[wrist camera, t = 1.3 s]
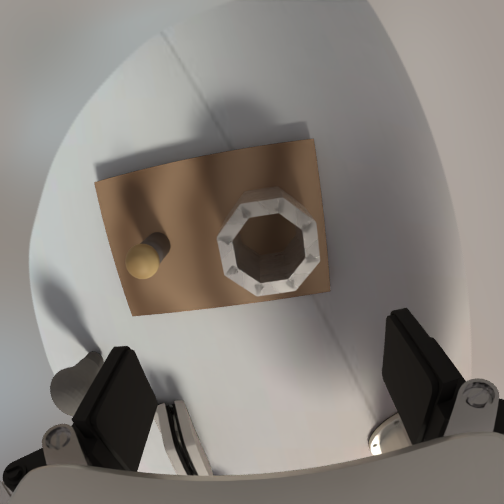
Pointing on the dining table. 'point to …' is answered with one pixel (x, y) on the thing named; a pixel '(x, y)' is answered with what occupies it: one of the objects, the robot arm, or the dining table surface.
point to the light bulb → (75, 383)
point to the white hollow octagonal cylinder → (275, 264)
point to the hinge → (181, 440)
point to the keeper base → (205, 225)
